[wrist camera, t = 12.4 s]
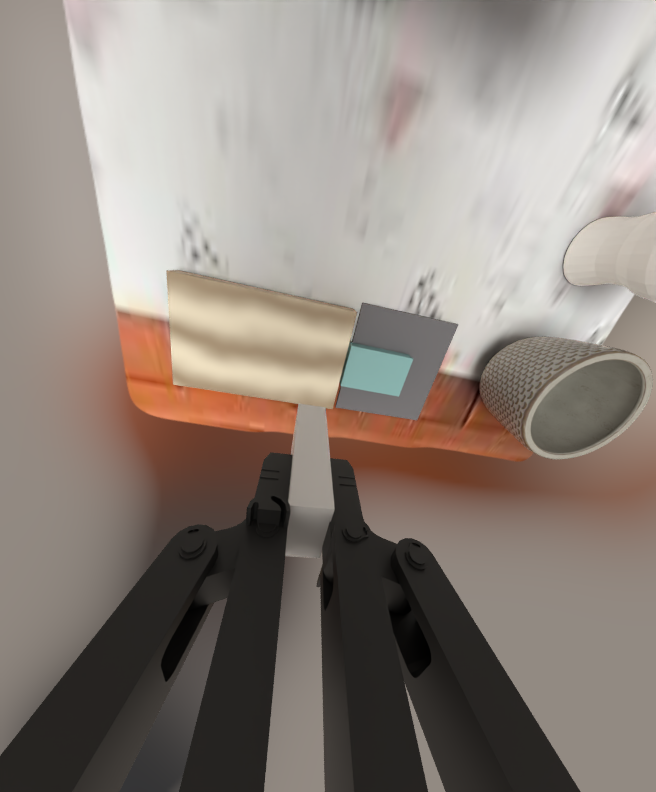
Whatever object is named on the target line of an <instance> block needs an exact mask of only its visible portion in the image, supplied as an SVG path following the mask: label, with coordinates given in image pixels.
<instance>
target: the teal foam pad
mask: <svg viewBox="0 0 656 792" xmlns="http://www.w3.org/2000/svg"><path fill="white" fill-rule="evenodd" d="M412 361H413V358H412V357H411V356H410V355H408V354H404V353H399V352H394V351H390V350H385V349H380V348H375V347H371V346H366V345H361V344H356V343H352V342H349V346H348V350H347V354H346V358H345V362H344V366H343V370H342V374H341V378H340V385H341V386H343V387H349V388H354V389H360V390H365V391H371V392H376V393H382V394H387V395H393V396H398V397H399V395H400V392H401V390H402V387H403V385H404V382H405V379H406V377H407V374H408V372H409V369H410V367H411V364H412Z"/></svg>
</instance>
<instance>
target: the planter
mask: <svg viewBox="0 0 656 792" xmlns="http://www.w3.org/2000/svg"><path fill="white" fill-rule="evenodd" d="M652 386H653V377H652V372H651V369H650V367H649V365H648V364H647V363H646V362H645V361H644V360H643V359H642V358H641V357H639V356H637V355H635V354H633V353H630V352H627V351H624V350H621V349H617V348H612V347H608V346H603V345H597V344H592V343H587V342H582V341H577V340H570V339H564V338H555V337H531V338H526V339H522V340H519V341H516V342H514V343H512V344H510V345H508V346H506V347H505V348H503V349H502V350H500V351H499V352H498V353H497V354H496V355H495V356H494V357H493V358H492V359H491V360H490V361H489V363H488V364H487V366H486V367H485V369H484V371H483V374H482V376H481V380H480V395H481V398H482V401H483V403H484V404H485V406H486V408H487V409H488V410H489V412H490V413H491V414H492V415H493V416H494V417H495V418H496V419H497V420H498V421H499V422H500V423H501V424H502V425H503V426H504V427H505V428H506V429H507V430H508V431H509V432H510V433H511V434H512V435H513V436H514V437H515V438H516V439H517V440H518V441H519V442H520V443H522V444H523V445H524V446H525V447H526V448H527V449H529V450H531V451H532V452H534V453H535V454H537V455H539V456H542V457H544V458H550V459H567V458H573V457H577V456H581V455H584V454H587V453H589V452H592V451H594V450H597V449H598V448H600V447H602V446H604V445H606V444H607V443H609V442H610V441H612V440H614V439H615V438H616V437H617V436H619V435H620V434H621V433H623V432H624V431H625V430H626V429H627V428H628V427H629V426H630V425H631V424H632V423H633V422H634V421H635V420H636V419H637V417H638V416H639V414H640V413H641V412H642V410H643V409H644V407H645V405H646V404H647V402H648V399H649V397H650V394H651V390H652Z"/></svg>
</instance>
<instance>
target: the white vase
mask: <svg viewBox="0 0 656 792" xmlns="http://www.w3.org/2000/svg"><path fill="white" fill-rule="evenodd" d="M563 269H564V275H565V277H566V279H567V280H568V281H569V282H570V283H571V284H574V285H576V286H590V285H600V284H609V283H610V284H615V285H620V286H625V287H626V288H627V289H629V290H630V291H631V292H632V293H634V294H635V295H637V296H640V297H642V298H644V299H647V300H649V301H652V302H654V303H656V212H653V213H650V214H646V215H643V216H639V217H605V218H601V219H597V220H596V221H594V222H592V223H590V224H588V225H587V226H586V227H585V228H584V229H582V230H581V231H580V232H579V233H578V235H577V236H576V237H575V238H574V239H573V241H572V243H571V244H570V246H569V247H568V250H567V252H566V255H565V258H564V264H563Z"/></svg>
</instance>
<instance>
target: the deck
mask: <svg viewBox="0 0 656 792" xmlns="http://www.w3.org/2000/svg"><path fill="white" fill-rule="evenodd" d="M167 288H168V305H169V322H170V339H171V356H172V372H173V384H174V385H180V386H187V387H193V388H200V389H206V390H213V391H219V392H225V393H232V394H238V395H245V396H251V397H257V398H264V399H270V400H277V401H283V402H290V403H296V404H305V405H312V406H320V407H325V408H328V409H333V405H334V401H335V397H336V393H337V389H338V386H339V382H340V378H341V374H342V370H343V366H344V362H345V358H346V354H347V350H348V346H349V342H350V338H351V334H352V331H353V327H354V323H355V319H356V315H357V312H356V311H355V310H354V309H351V308H347V307H342V306H338V305H333V304H329V303H324V302H320V301H315V300H311V299H306V298H302V297H297V296H293V295H288V294H284V293H279V292H275V291H270V290H265V289H261V288H256V287H252V286H247V285H243V284H238V283H234V282H229V281H225V280H220V279H216V278H211V277H207V276H202V275H198V274H193V273H188V272H184V271H179V270H171V271H167Z"/></svg>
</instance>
